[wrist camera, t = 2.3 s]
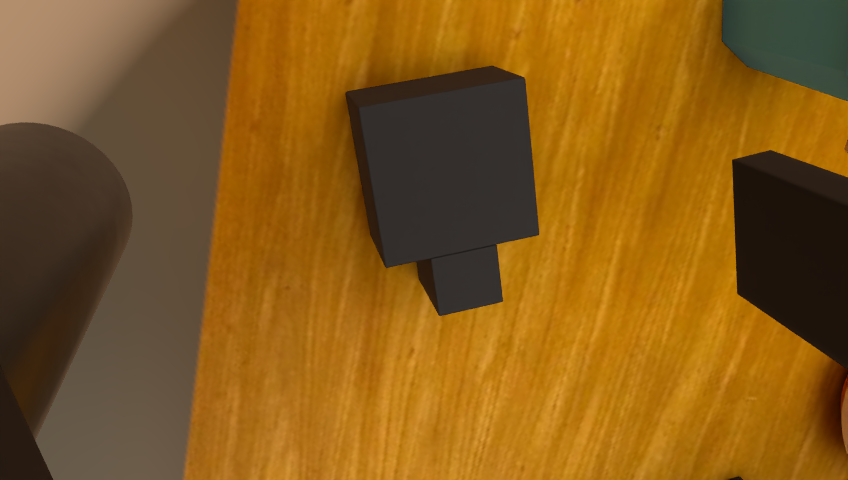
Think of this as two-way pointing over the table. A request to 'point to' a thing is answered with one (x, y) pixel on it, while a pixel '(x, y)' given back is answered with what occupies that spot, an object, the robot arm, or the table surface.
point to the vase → (845, 413)
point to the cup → (792, 40)
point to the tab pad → (447, 178)
